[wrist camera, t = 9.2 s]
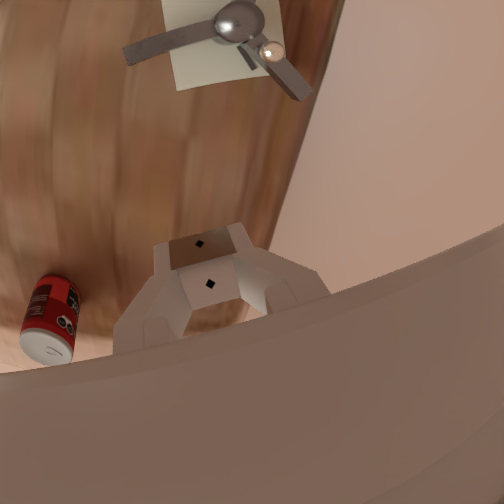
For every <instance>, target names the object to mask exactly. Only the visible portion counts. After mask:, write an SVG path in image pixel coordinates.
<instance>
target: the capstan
mask: <svg viewBox="0 0 504 504" xmlns="http://www.w3.org/2000/svg"><path fill="white" fill-rule="evenodd" d="M255 3H256V0H231V2H230V3H228V4H227V5H225V6H224V7H223V8H222V9H221V10H220V11H219V12H217V13H216V14H215V15H214V16H213V17H212V18H211V19H210V20H206V21H202V22H198V23H194V24H191V25H187V26H184V27H180V28H177V29H174V30H170V31H167V32H164V33H161V34H158V35H155V36H153V37H150V38H147V39H144V40H142V41H139V42H136V43H134V44H131V45H129V46H126V47H124V48H122V49H123V52H124V55H125V58H126V61H127V64H128V66H132V65H134V64H136V63H139V62H142V61H144V60H147V59H149V58H152V57H155V56H158V55H160V54H163V53H166V52H169V51H172V50H175V49H178V48H182V47H185V46H188V45H191V44H195V43H198V42H202V41H206V40H210V39H212V40H213V41H215V42H216V43H218V44H221V45H233V44H237V43H241V42H242V43H241V44H240V46H241V47H242V48H243V49H244V50H246V51H247V52H248V53H249V54H250V55H251V56H252V57H253V58H254V59H255V60H256V61H257V62H258V63H259V64H260V65H261V66H262V67H263V68H264V69H265V71H266V72H267V73H268V74H269V75H270V76H271V77H272V78H273V79H274V80H275V81H276V82H277V83H278V84H279V85H280V86H281V88H282V89H283V90H284V91H285V92H286V93H287V94H288V95H289V96H290V98H291V99H294V100H297V101H299V102H302V101H303V100H304V99H305V98H306V97H308V96H309V95H310V94H311V93H312V92H313V91H314V90H313V89H312V88H311V87H310V85H309V84H308V83H307V82H306V81H305V79H304V78H303V77H302V76H301V75H300V74H299V72H298V71H297V70H296V69H295V68H294V67H293V66H292V64H291V63H290V62H289V61H288V60H287V59H286V58H285V57H284V55H285V50H284V47H283V46H282V44H280V43H279V42H277V41H269V40H268V39H267V38H266V37H265V35H264V34H263V33H262V31H263V29H264V26H265V17H264V14H263V12H262V10H261V9H260V8H259V7H258V6H257V5H255Z"/></svg>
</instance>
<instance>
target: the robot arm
mask: <svg viewBox="0 0 504 504" xmlns="http://www.w3.org/2000/svg"><path fill="white" fill-rule="evenodd" d="M240 297H241V298H242V299H243V300H244V301H246V302H247V303H249V304H250V305H251V306H253V307H255V308H256V309H257V310H259V311H260V312H261V313H263V314H264V315H266V316H263V317H259V318H256V319H253V320H249V321H246V322H242V323H239V324H235V325H232V326H228V327H225V328H221V329H218V330H214V331H210V332H207V333H203V334H199V335H195V336H192V337H188V338H184V339H181V338H182V335H183V333H184V331H185V328H186V326H187V324H188V321H189V319H190V316H191V314H192V311H193V310H196V309H200V308H203V307H207V306H210V305H213V304H217V303H221V302H225V301H229V300H232V299H236V298H240ZM0 504H504V224H502V225H500V226H498V227H496V228H494V229H492V230H490V231H487V232H485V233H483V234H481V235H479V236H477V237H475V238H472V239H470V240H468V241H466V242H464V243H461V244H459V245H457V246H455V247H452V248H450V249H447V250H445V251H443V252H440V253H438V254H436V255H433V256H431V257H428V258H426V259H424V260H421V261H419V262H417V263H414V264H411V265H409V266H406V267H404V268H401V269H399V270H396V271H394V272H391V273H388V274H386V275H383V276H381V277H378V278H376V279H373V280H370V281H367V282H365V283H362V284H359V285H356V286H354V287H351V288H348V289H345V290H343V291H339V292H337V293H334V294H331V293H330V292H329V290H328V289H327V287H326V286H325V284H324V283H323V281H322V280H321V278H320V277H319V275H318V274H317V272H316V271H314V270H311V269H309V268H307V267H304V266H302V265H299V264H297V263H295V262H292V261H290V260H287V259H285V258H283V257H281V256H278V255H276V254H273V253H271V252H269V251H266V250H264V249H262V248H259V247H257V248H254V247H253V245H252V243H251V241H250V239H249V237H248V235H247V233H246V231H245V229H244V227H243V225H242V223H241V222H237V223H234V224H231V225H227V226H224V227H221V228H217V229H214V230H211V231H207V232H204V233H200V234H195V235H191V236H187V237H183V238H179V239H175V240H171V241H169V242H168V241H167V242H163V243H160V244H157V245H155V246H154V276H150V278H149V279H148V280H147V282H146V283H145V284H144V286H143V287H142V288H141V290H140V291H139V292H138V294H137V295H136V297H135V298H134V299H133V301H132V302H131V303H130V305H129V306H128V308H127V309H126V310H125V312H124V313H123V315H122V316H121V317H120V319H119V320H118V322H117V323H116V324H115V326H114V333H113V355H110V356H105V357H100V358H95V359H90V360H84V361H79V362H74V363H68V364H62V365H56V366H50V367H44V368H37V369H31V370H24V371H16V372H8V373H1V374H0Z"/></svg>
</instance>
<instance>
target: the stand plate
mask: <svg viewBox="0 0 504 504" xmlns="http://www.w3.org/2000/svg"><path fill="white" fill-rule="evenodd" d="M161 2H162V8H163V15H164V21H165V27H166V32H167V31H170V30H174V29H177V28H180V27H184V26H187V25H191V24H194V23H198V22H202V21H206V20H210V19H211V18H212V17H213V16H214V15H215V14H216V13H217V12H219V11H220V10H221V9H222V8H223V7H224V6H225V5H227V4H228V3H230V2H231V0H161ZM255 5H257V6H258V7H259V8H260V9H261V10H262V12H263V14H264V17H265V26H264V29H263V31H262V33H263V34H264V35H265V37H266V38H267V39H268V40H269V41H277V42H279V43H280V44H282V46H283V47H284V50H285V46H284V37H283V29H282V21H281V13H280V5H279V0H256V3H255ZM241 43H242V42H241ZM241 43H237V44H233V45H221V44H218V43H216V42H215V41H213V40H212V39H210V40H206V41H202V42H198V43H195V44H191V45H188V46H185V47H182V48H178V49H175V50H172V51H170V56H171V62H172V67H173V72H174V78H175V83H176V88H177V91H180V90H184V89H189V88H193V87H198V86H203V85H208V84H213V83H219V82H225V81H231V80H237V79H244V78H251V77H259V76H268V75H269V74H268V73H267V72H266V71H265V69H264V68H263V67H262V66H261V65H260V64H259V63H258V62H257V61H256V60H255V59H254V58H253V57H252V56H251V55H250V54H249V53H248V52H247V51H246V50H244V49H243V48H242V47H241V46H240V44H241ZM284 57H285V58H286V55H284Z"/></svg>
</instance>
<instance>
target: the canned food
mask: <svg viewBox="0 0 504 504" xmlns="http://www.w3.org/2000/svg"><path fill="white" fill-rule="evenodd" d="M80 305H81V299H80V294H79V291H78V290H77V288H76V287H75V286H74V284H72V283H71V282H70V281H68V280H67V279H65V278H63V277H60V276H55V275H49V276H45V277H43V278H41V279H40V280H39V281H38V282H37V284H36V285H35V288H34V291H33V294H32V297H31V300H30V303H29V306H28V309H27V312H26V315H25V318H24V321H23V325H22V328H21V332H20V337H19V345H20V347H21V349H22V350H23V352H24V353H25V354H26V355H27V356H29V357H30V358H31V359H33V360H34V361H36V362H38V363H41V364H43V365H47V366H56V365H62V364H68V363H70V362H71V361H72V357H73V352H74V345H75V337H76V330H77V323H78V317H79V311H80Z"/></svg>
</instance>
